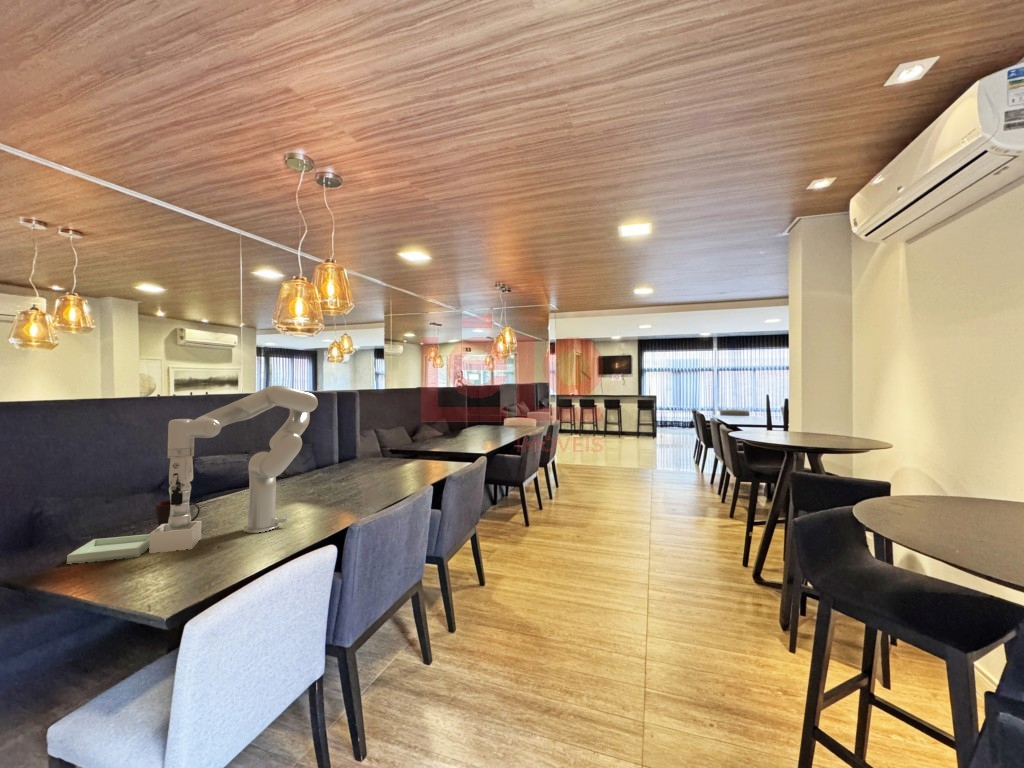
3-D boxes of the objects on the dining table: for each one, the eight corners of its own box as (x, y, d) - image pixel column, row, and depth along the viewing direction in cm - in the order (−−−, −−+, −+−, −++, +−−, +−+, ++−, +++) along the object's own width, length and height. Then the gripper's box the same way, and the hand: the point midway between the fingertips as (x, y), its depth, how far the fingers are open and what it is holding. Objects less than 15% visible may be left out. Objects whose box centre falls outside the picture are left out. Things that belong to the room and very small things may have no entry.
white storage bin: (200, 539, 157) (201, 520, 157) (191, 549, 146) (192, 529, 147) (161, 543, 152) (162, 524, 152) (149, 553, 142) (150, 533, 142)
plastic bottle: (195, 525, 153) (196, 471, 154) (179, 531, 146) (180, 474, 147) (179, 524, 154) (180, 471, 154) (162, 530, 147) (164, 474, 147)
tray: (157, 541, 153) (157, 533, 153) (138, 557, 139) (139, 548, 139) (93, 547, 146) (93, 539, 146) (66, 564, 131) (67, 555, 132)
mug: (154, 532, 164) (156, 501, 164) (198, 525, 173) (199, 496, 173) (154, 538, 156) (155, 507, 157) (199, 531, 165) (201, 501, 166)
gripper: (185, 455, 144) (184, 507, 144) (200, 449, 160) (199, 495, 159) (159, 456, 141) (157, 509, 141) (176, 450, 157) (175, 497, 156)
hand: (179, 501), depth 150 cm, fingers closed on plastic bottle, 6 cm apart
